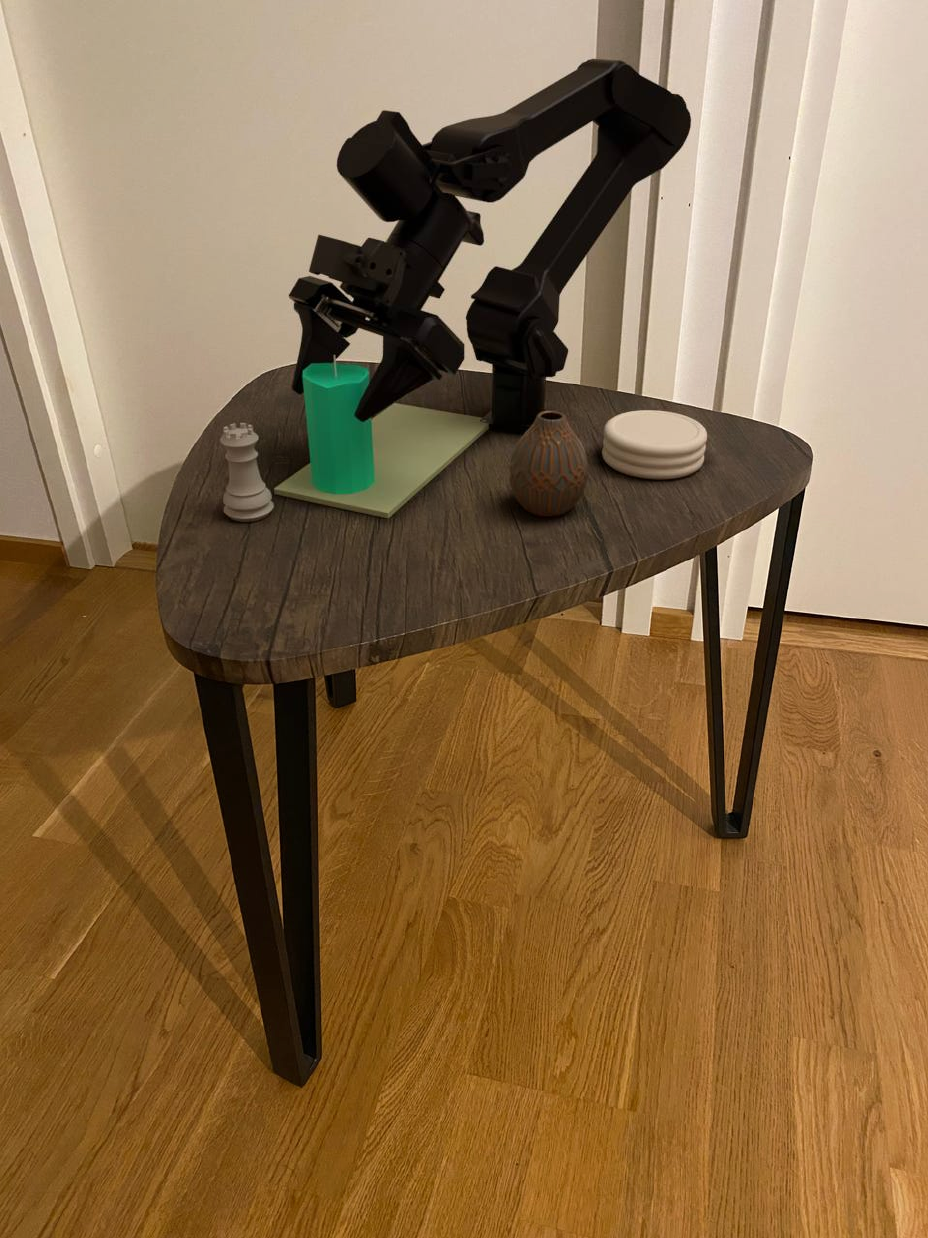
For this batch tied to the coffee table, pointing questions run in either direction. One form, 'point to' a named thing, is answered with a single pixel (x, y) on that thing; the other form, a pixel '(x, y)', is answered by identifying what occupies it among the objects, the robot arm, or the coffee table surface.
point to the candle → (338, 428)
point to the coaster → (654, 444)
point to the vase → (548, 466)
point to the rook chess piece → (244, 476)
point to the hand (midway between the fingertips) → (326, 405)
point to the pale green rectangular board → (397, 459)
